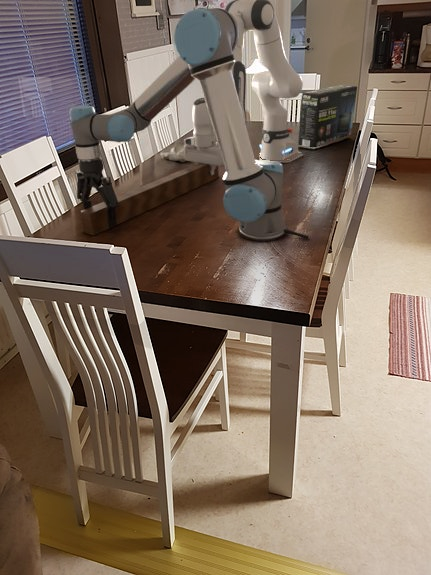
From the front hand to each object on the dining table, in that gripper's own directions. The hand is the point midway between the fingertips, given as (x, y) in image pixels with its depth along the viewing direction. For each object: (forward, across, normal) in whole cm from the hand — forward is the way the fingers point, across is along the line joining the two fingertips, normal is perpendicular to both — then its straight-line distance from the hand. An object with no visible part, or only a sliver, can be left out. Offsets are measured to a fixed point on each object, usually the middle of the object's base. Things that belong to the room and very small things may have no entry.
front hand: (101, 222), depth 156 cm
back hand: (-1, 0, -59) cm, 59 cm away
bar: (+2, 0, -30) cm, 30 cm away
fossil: (+2, +33, -80) cm, 87 cm away
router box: (+2, -18, -141) cm, 143 cm away
